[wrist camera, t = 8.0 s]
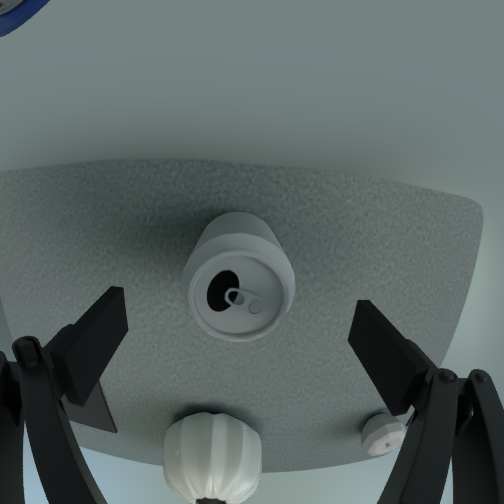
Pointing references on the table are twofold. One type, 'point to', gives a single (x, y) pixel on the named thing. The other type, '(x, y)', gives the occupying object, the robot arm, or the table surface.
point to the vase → (212, 459)
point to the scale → (91, 411)
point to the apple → (382, 434)
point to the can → (238, 279)
